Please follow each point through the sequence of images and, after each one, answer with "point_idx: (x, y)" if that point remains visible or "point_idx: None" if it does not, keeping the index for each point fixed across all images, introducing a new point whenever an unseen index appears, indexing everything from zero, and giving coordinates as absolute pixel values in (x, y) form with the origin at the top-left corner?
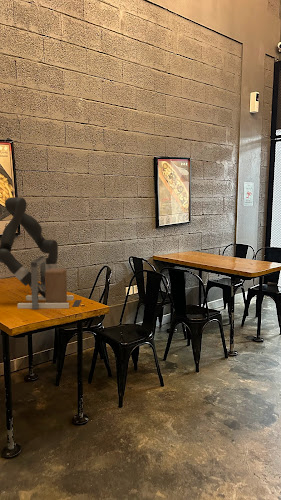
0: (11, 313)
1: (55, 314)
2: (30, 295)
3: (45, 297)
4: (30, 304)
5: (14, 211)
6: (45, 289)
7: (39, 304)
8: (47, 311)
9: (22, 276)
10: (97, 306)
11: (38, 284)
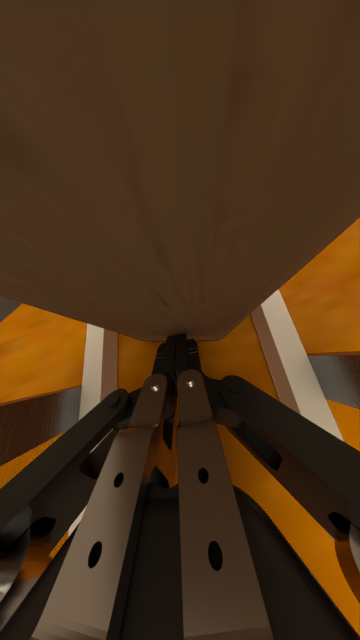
0: None
1: (356, 241)
2: (71, 526)
3: (224, 332)
4: (331, 419)
5: None
6: (261, 301)
7: (301, 349)
8: (325, 290)
9: None
10: None
11: (107, 551)
